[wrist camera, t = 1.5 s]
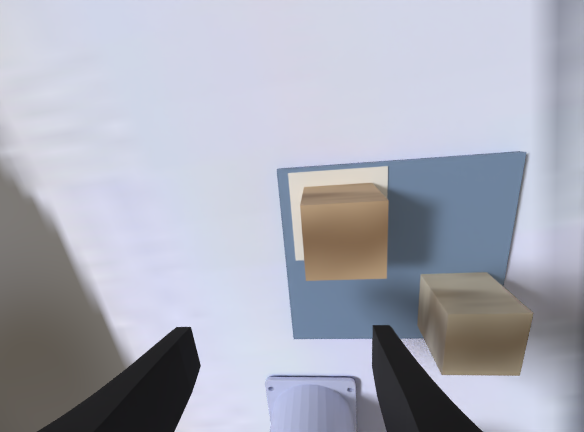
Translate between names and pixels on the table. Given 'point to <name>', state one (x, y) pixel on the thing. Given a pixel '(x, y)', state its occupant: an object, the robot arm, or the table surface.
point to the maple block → (472, 324)
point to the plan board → (404, 237)
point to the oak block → (344, 232)
